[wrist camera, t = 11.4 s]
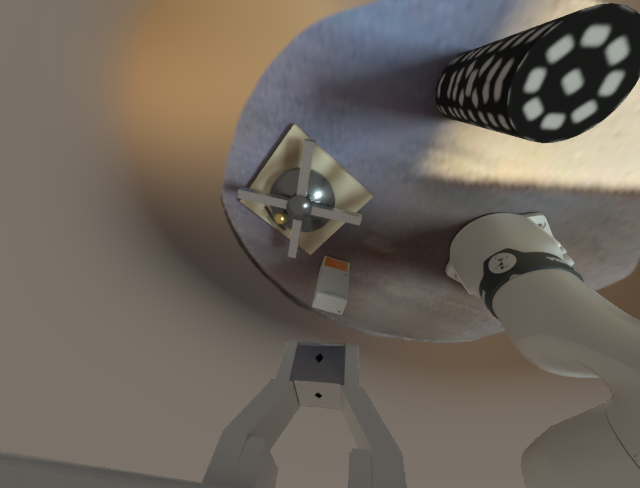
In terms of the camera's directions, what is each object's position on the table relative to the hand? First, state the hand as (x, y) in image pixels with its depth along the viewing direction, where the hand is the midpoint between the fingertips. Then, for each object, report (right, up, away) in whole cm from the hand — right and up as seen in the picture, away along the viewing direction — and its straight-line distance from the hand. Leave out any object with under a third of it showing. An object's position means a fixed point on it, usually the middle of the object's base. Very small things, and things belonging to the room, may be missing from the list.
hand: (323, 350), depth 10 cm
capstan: (-3, +13, +35) cm, 37 cm away
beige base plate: (-3, +14, +36) cm, 39 cm away
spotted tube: (+21, +27, +24) cm, 42 cm away
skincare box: (+3, 0, +44) cm, 44 cm away
